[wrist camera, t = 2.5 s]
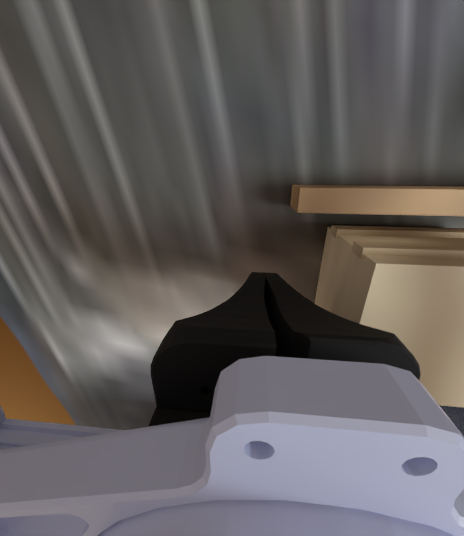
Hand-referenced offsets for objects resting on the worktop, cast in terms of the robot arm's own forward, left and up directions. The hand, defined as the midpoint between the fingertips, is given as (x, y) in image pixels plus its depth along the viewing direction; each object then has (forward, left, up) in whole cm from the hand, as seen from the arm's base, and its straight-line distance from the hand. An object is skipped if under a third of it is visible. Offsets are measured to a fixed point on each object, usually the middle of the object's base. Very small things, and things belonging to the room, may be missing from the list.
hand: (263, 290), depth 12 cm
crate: (-6, 0, -2) cm, 6 cm away
